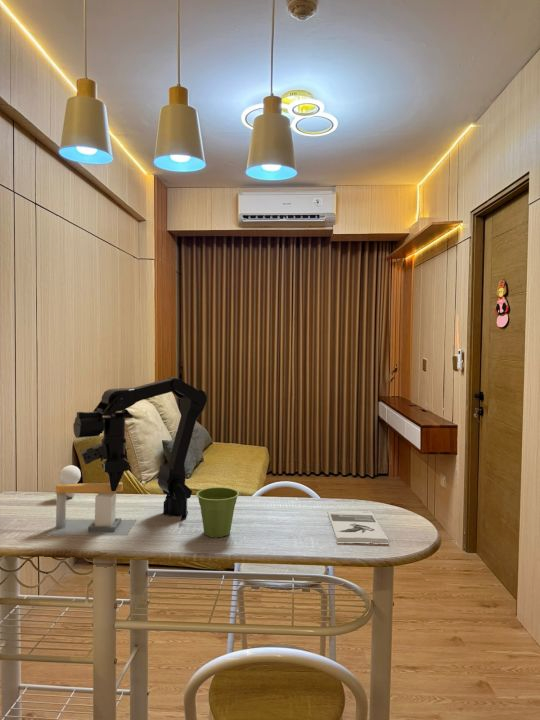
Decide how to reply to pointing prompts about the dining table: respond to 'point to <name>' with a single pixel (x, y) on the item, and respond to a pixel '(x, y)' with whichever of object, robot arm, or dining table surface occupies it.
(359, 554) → the dining table surface
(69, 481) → the light bulb
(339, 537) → the book
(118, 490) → the bar
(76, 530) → the socket board
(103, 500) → the plug
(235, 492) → the plant pot
